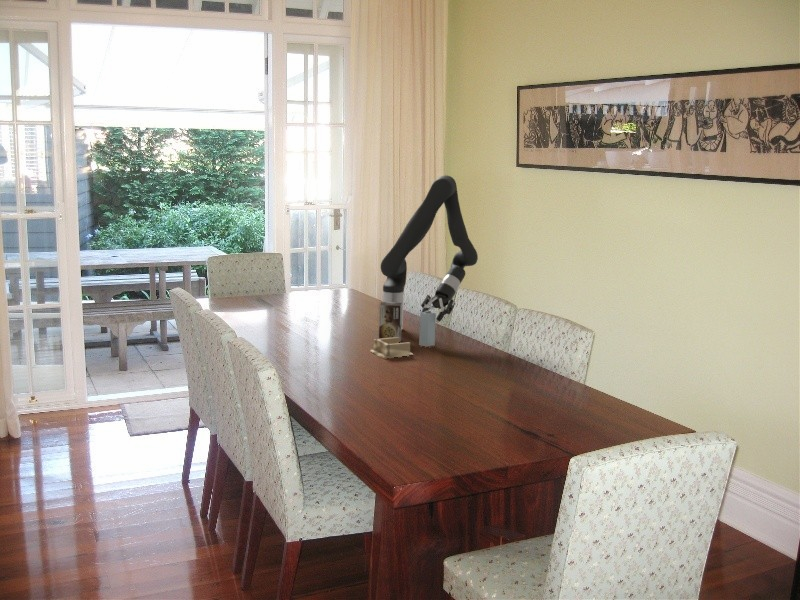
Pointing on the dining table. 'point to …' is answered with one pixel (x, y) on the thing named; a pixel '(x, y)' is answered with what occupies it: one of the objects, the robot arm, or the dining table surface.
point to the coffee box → (390, 320)
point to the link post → (427, 328)
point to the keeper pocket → (390, 348)
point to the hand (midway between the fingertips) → (429, 318)
